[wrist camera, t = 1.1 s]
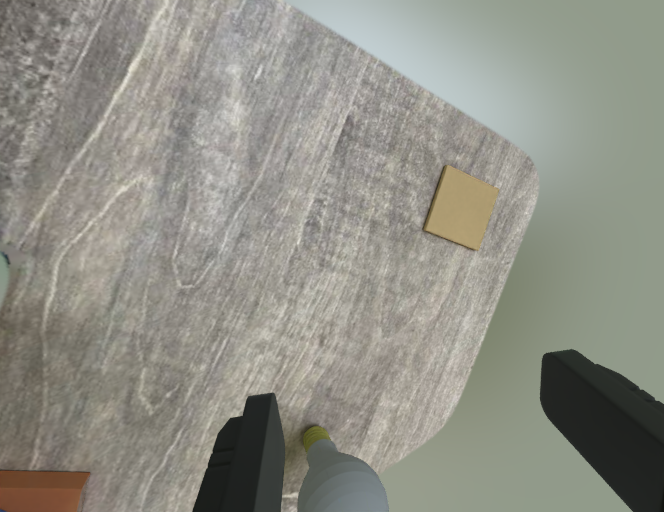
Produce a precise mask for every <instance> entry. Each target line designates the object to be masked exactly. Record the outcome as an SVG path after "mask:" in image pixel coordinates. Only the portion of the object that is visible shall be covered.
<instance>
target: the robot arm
mask: <svg viewBox="0 0 664 512" xmlns="http://www.w3.org/2000/svg"><path fill="white" fill-rule="evenodd" d="M540 401H541V405H542V408H543V410H544V412H545V414H546V416H547V417H548V419H549V420H550V421H551V422H552V423H553V424H554V426H555V427H556V428H557V429H558V430H559V431H560V432H561V433H562V434H563V435H564V437H565V438H566V439H567V440H568V441H569V442H570V443H571V444H572V445H573V446H574V447H575V449H576V450H577V451H579V453H580V454H581V455H582V456H583V457H584V458H585V460H586V461H587V462H588V463H589V464H590V465H591V466H592V467H593V468H594V469H595V470H596V472H597V473H598V474H599V475H600V476H601V477H602V478H603V479H604V480H605V482H606V483H607V484H608V485H609V486H610V487H611V488H612V489H613V490H614V491H615V492H616V494H617V495H618V496H619V497H620V498H621V499H622V500H623V501H624V502H625V503H626V505H627V506H628V507H629V508H630V509H631V510H632V511H633V512H664V404H663V403H661V402H660V401H655V398H654V397H652V396H651V395H650V394H648V393H647V392H645V391H644V390H640V389H639V387H638V386H636V385H635V384H634V383H632V382H631V381H630V380H628V379H627V378H625V377H624V376H622V375H621V374H619V373H617V372H615V371H612V370H610V369H608V368H605V367H603V366H601V365H599V364H594V363H593V362H591V361H590V360H589V359H587V358H586V357H584V356H583V355H582V354H580V353H579V352H578V351H576V350H572V349H571V350H563V351H557V352H550V353H546V354H544V355H543V358H542V369H541V388H540ZM284 463H285V443H284V435H283V430H282V425H281V420H280V415H279V410H278V405H277V401H276V396H275V394H274V393H267V394H260V395H254V396H248V398H247V400H246V404H245V408H244V412H243V416H240V417H234V418H230V419H229V420H228V422H227V423H226V424H225V425H224V427H223V428H222V429H221V430H220V432H219V433H218V435H217V438H216V442H215V445H214V448H213V454H211V457H210V460H209V463H208V468H207V469H206V472H205V475H204V478H203V481H202V484H201V487H200V490H199V493H198V496H197V499H196V502H195V505H194V508H193V511H192V512H281V500H282V488H283V475H284Z"/></svg>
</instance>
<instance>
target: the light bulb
mask: <svg viewBox="0 0 664 512" xmlns="http://www.w3.org/2000/svg"><path fill="white" fill-rule="evenodd" d="M303 444H304V447H305V450H306V454H307V461H308V464H309V470H308V472H307V474H306V476H305V478H304V481H303V483H302V486H301V489H300V492H299V496H298V511H297V512H389V507H388V500H387V495H386V491H385V488H384V487H383V485H382V483H381V481H380V479H379V477H378V475H377V474H376V472H375V471H374V470H373V469H372V468H371V467H370V466H369V465H368V464H367V463H366V462H364V461H363V460H361V459H359V458H357V457H354V456H352V455H348V454H344V453H341V452H338V450H337V448H336V446H335V444H334V443H333V442H332V441H331V439H330V437H329V435H328V433H327V431H326V430H325V429H324V428H322V427H320V426H314V427H311V428H310V429H308V430H307V431H306V433H305V435H304V437H303Z"/></svg>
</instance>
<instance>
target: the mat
mask: <svg viewBox="0 0 664 512" xmlns="http://www.w3.org/2000/svg"><path fill="white" fill-rule="evenodd" d="M498 192H499V189H498V188H496V187H494V186H492V185H490V184H487V183H485V182H483V181H481V180H479V179H477V178H475V177H473V176H471V175H468V174H466V173H464V172H462V171H460V170H458V169H456V168H454V167H452V166H449V165H445V167H444V170H443V173H442V176H441V179H440V182H439V185H438V188H437V191H436V194H435V197H434V200H433V203H432V206H431V209H430V211H429V214H428V217H427V220H426V223H425V226H424V229H423V230H424V231H427V232H430V233H432V234H435V235H437V236H440V237H443V238H445V239H448V240H450V241H453V242H455V243H458V244H461V245H463V246H466V247H468V248H471V249H473V250H477V251H478V250H479V248H480V245H481V242H482V239H483V236H484V233H485V230H486V227H487V224H488V222H489V219H490V216H491V213H492V210H493V207H494V204H495V201H496V198H497V195H498Z"/></svg>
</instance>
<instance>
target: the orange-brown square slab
mask: <svg viewBox="0 0 664 512" xmlns="http://www.w3.org/2000/svg"><path fill="white" fill-rule="evenodd" d="M89 477H90V472H47V471H3V470H0V509H1V510H4V511H7V512H82V508H83V503H84V499H85V495H86V490H87V486H88V481H89Z"/></svg>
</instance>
